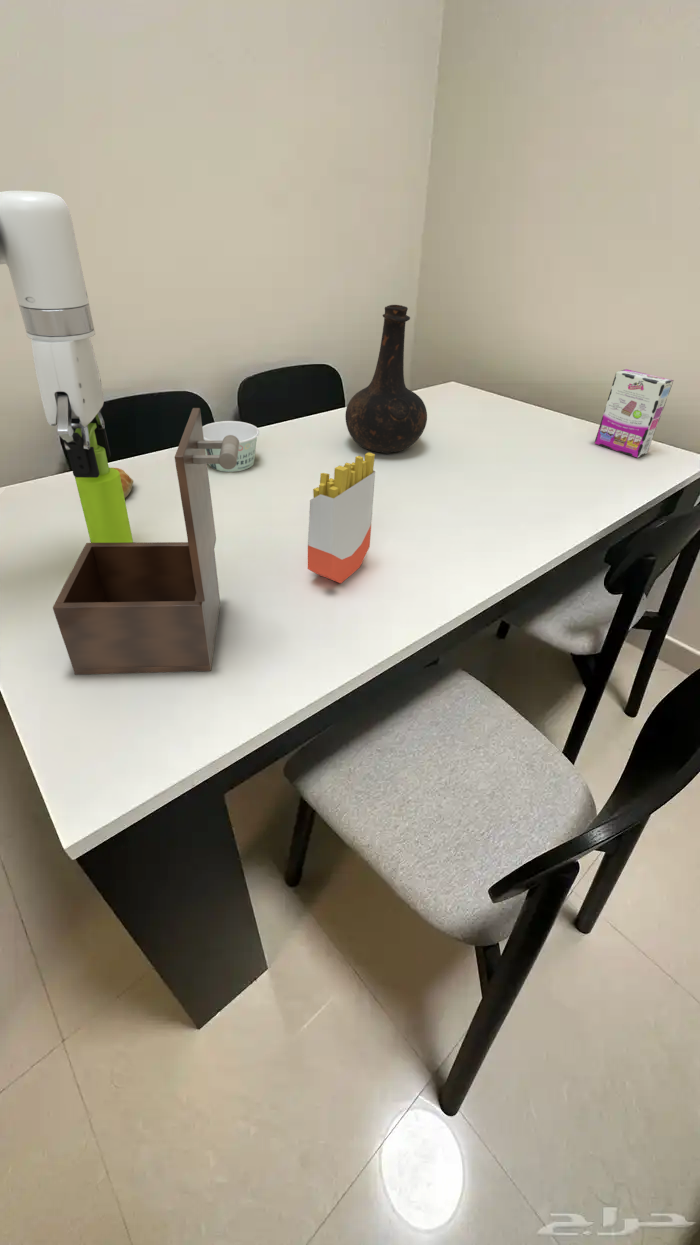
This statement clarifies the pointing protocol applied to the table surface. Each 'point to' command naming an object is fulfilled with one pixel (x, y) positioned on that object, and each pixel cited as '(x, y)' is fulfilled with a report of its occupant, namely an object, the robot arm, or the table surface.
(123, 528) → the soap dispenser
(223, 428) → the food container
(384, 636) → the table surface
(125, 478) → the pastry
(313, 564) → the french fries container
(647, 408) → the candy bar box
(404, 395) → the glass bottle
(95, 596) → the chest
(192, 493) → the lid
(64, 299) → the robot arm
